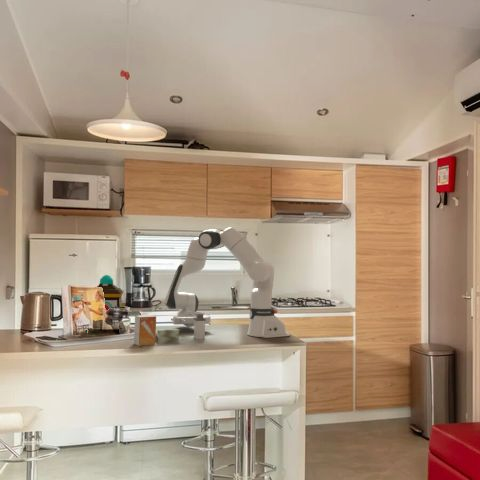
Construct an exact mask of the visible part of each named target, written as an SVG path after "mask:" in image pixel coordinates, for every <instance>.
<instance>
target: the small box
mask: <svg viewBox="0 0 480 480" xmlns="http://www.w3.org/2000/svg"><path fill="white" fill-rule="evenodd" d="M156 329H157V316H156V315H153V314H140V315H139V314H138V315H134V332H133V333H134V334H133V344H134V345H136V346H138V347H141V346H155V345H156V341H155V337H156V333H157V330H156Z"/></svg>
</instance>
